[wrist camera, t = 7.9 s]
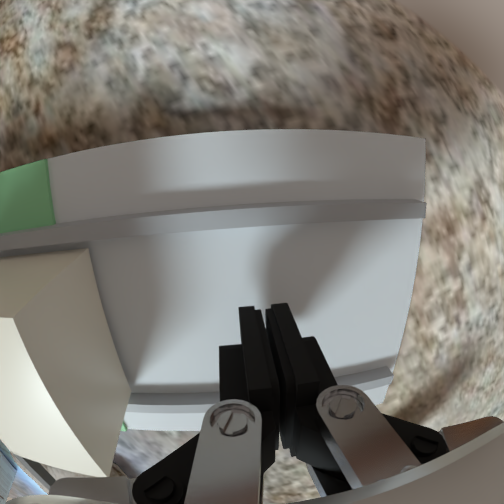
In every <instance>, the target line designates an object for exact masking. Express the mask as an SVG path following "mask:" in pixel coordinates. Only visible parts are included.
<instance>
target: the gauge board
mask: <svg viewBox="0 0 504 504" xmlns="http://www.w3.org/2000/svg"><path fill="white" fill-rule="evenodd" d="M425 164H426V138H418V137H411V136H403V135H394V134H384V133H373V132H360V131H343V130H319V129H261V130H236V131H220V132H206V133H195V134H185V135H176V136H167V137H159V138H151V139H144V140H138V141H131V142H125V143H119V144H113V145H108V146H103V147H97V148H92V149H87V150H83V151H78V152H74V153H69V154H65V155H61V156H57V157H53V158H49V159H44V160H40V161H36V162H33V163H29V164H26V165H22V166H19V167H15V168H12V169H9V170H6V171H3V172H0V257H7V256H16V255H25V254H35V253H44V252H54V251H64V250H74V249H84V248H88V249H89V253H90V258H91V263H92V267H93V272H94V276H95V280H96V284H97V288H98V292H99V296H100V299H101V303H102V307H103V310H104V314H105V317H106V320H107V324H108V327H109V330H110V333H111V336H112V339H113V342H114V345H115V348H116V351H117V354H118V357H119V360H120V363H121V365H122V368H123V371H124V373H125V376H126V379H127V381H128V384H129V386H130V389H131V395H130V398H129V402H128V405H127V409H126V412H125V416H124V419H123V423H122V427H121V431H127V429H138V430H160V431H201V426H202V422H203V418H204V415H205V413H206V411H207V410H208V409H209V408H210V407H211V406H213V405H214V404H216V403H218V402H220V391H219V346H223V345H236V344H241V336H240V323H239V310H238V307H244V306H254V307H255V310H258V309H261V312H262V316H263V320H264V324H265V328H266V322H265V309H268V308H271V304H277V303H288V305H289V308H290V310H291V312H292V315H293V317H294V320H295V322H296V324H297V327H298V329H299V332H300V334H301V337H302V338H303V337H310V336H314V337H315V338H316V340H317V342H318V344H319V346H320V348H321V350H322V352H323V355H324V357H325V359H326V361H327V363H328V365H329V367H330V369H331V372H332V374H333V376H334V378H335V380H336V382H337V384H338V385H349V386H353V387H356V388H358V389H360V390H362V391H363V392H364V393H365V394H366V395H367V396H368V397H369V398H370V400H371V401H372V402H373V403H374V405H377V404H381V403H383V401H384V398H385V395H386V392H387V389H388V386H389V384H391V383H392V380H393V376H394V375H393V370H394V366H395V363H396V359H397V356H398V352H399V348H400V345H401V341H402V337H403V333H404V329H405V324H406V320H407V315H408V311H409V306H410V301H411V296H412V291H413V285H414V280H415V274H416V267H417V261H418V254H419V246H420V238H421V229H422V219H423V218H425V213H426V203H425V202H424V191H425Z"/></svg>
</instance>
